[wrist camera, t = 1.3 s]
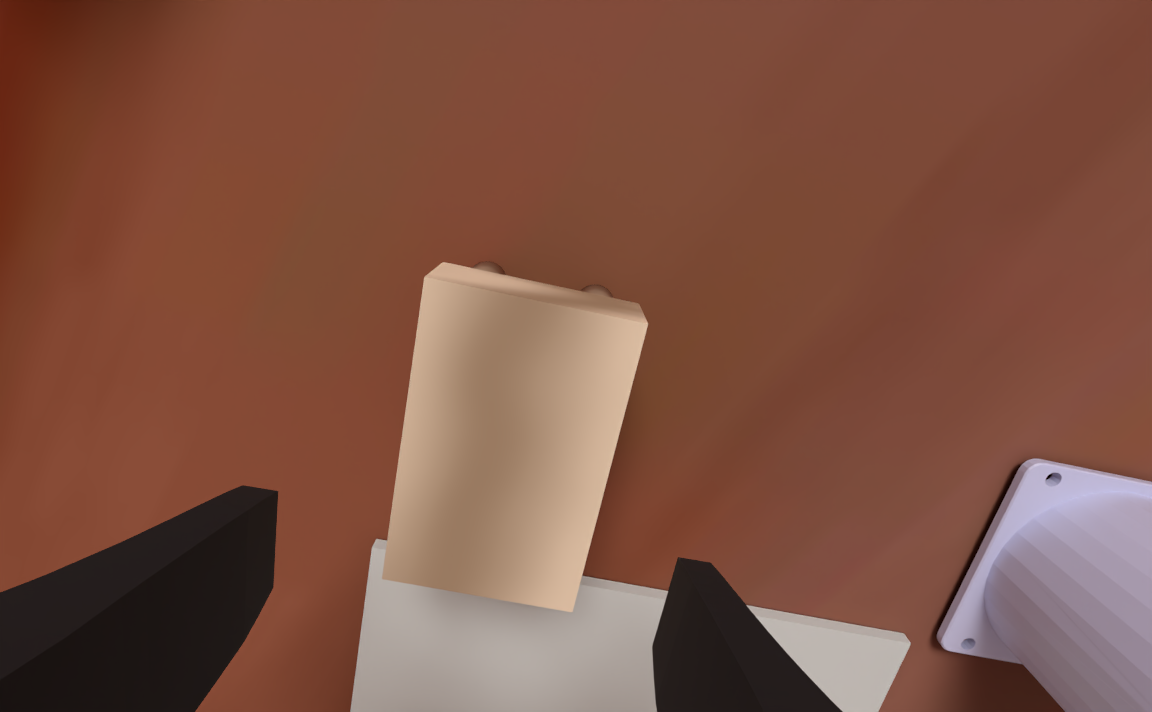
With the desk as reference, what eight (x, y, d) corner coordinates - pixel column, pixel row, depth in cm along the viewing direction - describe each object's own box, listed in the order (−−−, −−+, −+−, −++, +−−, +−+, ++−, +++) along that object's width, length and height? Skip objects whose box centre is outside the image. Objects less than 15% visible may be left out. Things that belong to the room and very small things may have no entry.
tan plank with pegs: (627, 277, 19) (647, 324, 13) (572, 500, 21) (572, 612, 16) (467, 243, 18) (424, 276, 13) (430, 473, 21) (381, 578, 16)
